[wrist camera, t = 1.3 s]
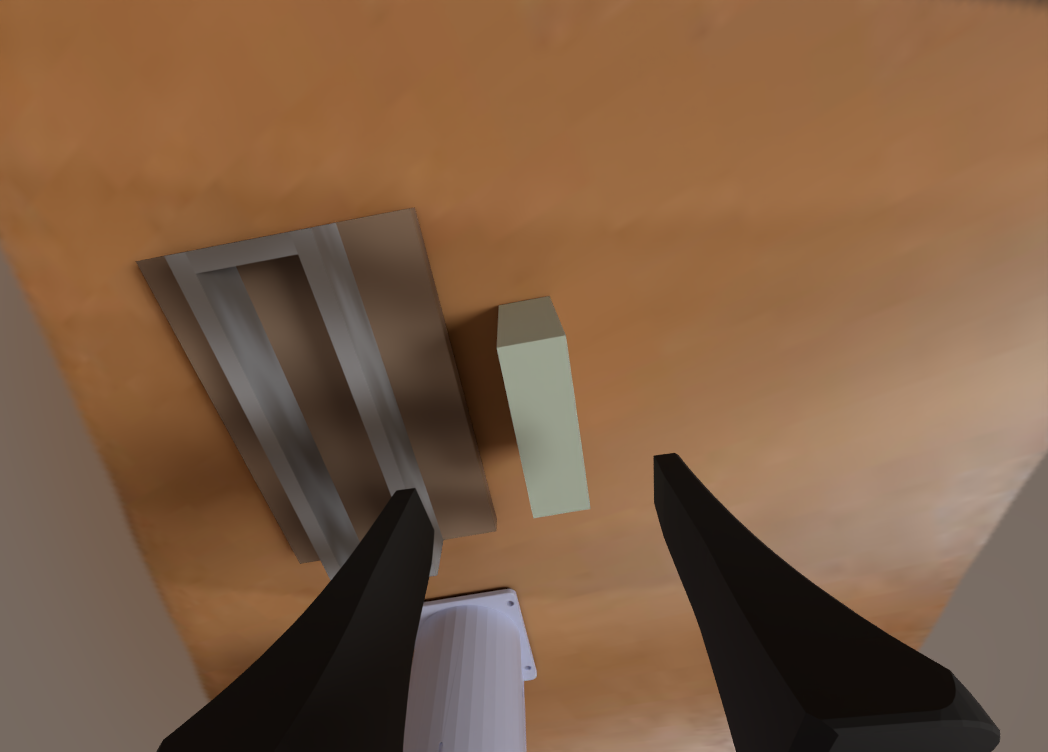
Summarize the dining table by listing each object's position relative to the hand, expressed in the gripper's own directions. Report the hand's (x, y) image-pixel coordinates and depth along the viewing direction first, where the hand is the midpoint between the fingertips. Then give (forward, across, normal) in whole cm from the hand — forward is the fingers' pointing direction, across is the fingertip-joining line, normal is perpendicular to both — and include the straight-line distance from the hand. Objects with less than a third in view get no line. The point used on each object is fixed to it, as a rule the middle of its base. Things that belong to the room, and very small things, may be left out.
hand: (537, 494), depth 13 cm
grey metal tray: (+9, +10, +2) cm, 14 cm away
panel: (+10, 0, +2) cm, 10 cm away
